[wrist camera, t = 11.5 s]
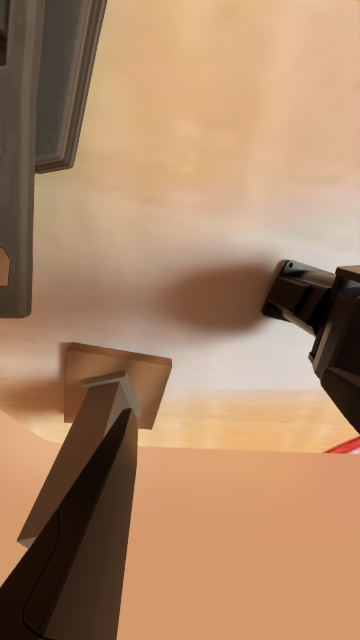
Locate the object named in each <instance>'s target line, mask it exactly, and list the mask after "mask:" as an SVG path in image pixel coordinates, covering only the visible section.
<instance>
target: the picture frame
mask: <svg viewBox="0 0 360 640" xmlns="http://www.w3.org/2000/svg"><path fill="white" fill-rule="evenodd" d="M82 387H83V388H84V390H85V392H86V394H87V395H86V397H85V399H84V401H83V403H82V405H81V407H80V409H79V412H78V414H77V416H76V418H75V420H74V422H73V424H72V426H71V428H70V430H69V432H68V435H67V437H66V439H65V441H64V443H63V445H62V447H61V449H60V451H59V453H58V455H57V458H56V460H55V462H54V464H53V466H52V468H51V470H50V472H49V474H48V476H47V478H46V480H45V483H44V485H43V487H42V489H41V491H40V493H39V495H38V497H37V499H36V502H35V503H34V506H33V508H32V510H31V512H30V514H29V516H28V518H27V520H26V522H25V524H24V526H23V528H22V531H21V533H20V535H19V537H18V539H17V542H18V543H21V544H22V545H23V546H25V547H27V548H28V549H29V548H30V546H31V545H32V543H33V542H34V540H35V539H36V537H37V536H38V535H39V533H40V532H41V530H42V529H43V527H44V526H45V524H46V523H47V521H48V520H49V518H50V517H51V515H52V514H53V513H54V511H55V510H56V508H58V506H59V504H60V502H61V501H62V499H63V498H64V496H65V495H66V493H67V492H68V490H69V489H70V487H71V486H72V484H73V483H74V481H75V480H76V478H77V477H78V475H79V474H80V472H81V471H82V469H83V468H84V466H85V465H86V463H87V462H88V460H89V459H90V457H91V456H92V454H93V453H94V451H95V450H96V449H97V447H98V446H99V444H100V443H101V441H102V440H103V438H104V437H105V435H106V434H107V432H108V431H109V429H110V428H111V426H112V425H113V423H114V422H115V420H116V419H117V417H118V416H119V414H120V413H121V411H122V410H123V409H126V408H133V410H134V412H135V415H136V417H140V416H141V407H140V404H139V402H138V399H137V397H136V394H135V392H134V389H133V387H132V384H131V382H130V379H129V377H128V374H127V372H126V371H124V372H119V373H114V374H109V375H104V376H99V377H94V378H89V379H85V381H84V383H83V385H82Z"/></svg>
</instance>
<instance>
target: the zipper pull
mask: <svg viewBox="0 0 360 640" xmlns="http://www.w3.org/2000/svg"><path fill="white" fill-rule="evenodd" d="M106 4H107V0H0V248H3V249H4V251H5V253H6V255H7V256H8V258H9V260H10V265H9V277H8V285H7V286H0V318H24V317H27V316H29V315H30V314H31V302H32V272H33V253H32V251H33V213H34V176H35V172H37V173H47V172H52V171H58V170H63V169H68V168H72V167H73V165H74V161H75V157H76V152H77V147H78V142H79V136H80V131H81V126H82V121H83V116H84V111H85V106H86V101H87V96H88V91H89V86H90V81H91V76H92V71H93V66H94V61H95V55H96V50H97V45H98V41H99V36H100V31H101V27H102V22H103V18H104V13H105V8H106Z"/></svg>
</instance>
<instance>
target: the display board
mask: <svg viewBox="0 0 360 640" xmlns="http://www.w3.org/2000/svg"><path fill="white" fill-rule="evenodd" d="M171 368H172V360H171V359H169V358H163V357H157V356H151V355H145V354H139V353H133V352H127V351H121V350H115V349H109V348H103V347H97V346H91V345H85V344H79V343H73V342H72V343H71V345H70V346H69V347H68V348H67V349H66V370H65V408H64V422H65V423H73V422H74V420H75V418H76V416H77V414H78V412H79V409H80V407H81V405H82V403H83V401H84V399H85V397H86V395H87V394H86V392H85V390H84V388H83V387H82V385H83V383H84V381H85V379H89V378H94V377H99V376H104V375H109V374H114V373H119V372H124V371H126V372H127V374H128V377H129V379H130V382H131V384H132V387H133V389H134V392H135V394H136V397H137V399H138V402H139V404H140V407H141V416H140V417H137V420H138V429H150V430H152V428H153V424H154V421H155V418H156V415H157V412H158V409H159V406H160V403H161V400H162V396H163V393H164V390H165V387H166V384H167V381H168V378H169V375H170V371H171Z"/></svg>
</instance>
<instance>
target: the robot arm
mask: <svg viewBox="0 0 360 640" xmlns="http://www.w3.org/2000/svg"><path fill="white" fill-rule="evenodd" d="M290 263H291V265H290V267H289V264H290ZM335 274H336V275H335ZM335 274H333V273H330V272H327V271H324V270H321V269H317V268H314V267H311V266H308V265H305V264H302V263H299V262H296V261H293V260H288V261H286V262H285V264H284V266H283V268H282V270H281V272H280V274H279V276H278V278H277V279H276V281H275V283H274V285H273V287H272V289H271V291H270V293H269V295H268V297H267V300H266V302H265V304H264V306H263V308H262V311H261V313H262V314H263V315H265V316H268V317H272V318H276V319H280V320H284V321H288V322H292V323H294V324H296V325H297V326H299V327H300V328H302V329H303V330H305V331H307V332H308V333H310V334H311V335H313V336H314V337H316V338H315V342H314V345H313V348H312V351H311V352H310V353H309V356H308V358H309V360H310V361H311V363H312V364H313V365H312V366H313V369H314V373H315V374H316V375H317V377H318V378H319V379H320V383H321V386H322V387H323V389H324V390H325V391H326V393H327V394H328V395H329V397H330V398H331V399H332V401H333V402H334V403H335V405H336V406H337V407H338V409H339V410H340V412H341V413H342V414H343V415H344V417H345V418H346V419H347V420H348V422H349V423H350V424H351V425H352V426H353V427H354V429H355V430H356V431H357V432H358V433H359V434H360V265H356V266H342V267H337V269H336V272H335ZM266 310H267V312H266V313H265V311H266ZM137 441H138V420H137V417H136V415H135V412H134V410H133V408H126V409H123V410H122V411H121V413H120V414H119V416H118V417H117V419H116V420H115V422H114V423H113V425H112V426H111V428H110V429H109V431H108V432H107V434H106V435H105V437H104V438H103V440H102V441H101V443H100V444H99V446H98V447H97V449H96V450H95V451H94V453H93V454H92V456H91V457H90V459H89V460H88V462H87V463H86V465H85V466H84V468H83V469H82V471H81V472H80V474H79V475H78V477H77V478H76V480H75V481H74V483H73V484H72V486H71V487H70V489H69V490H68V492H67V493H66V495H65V496H64V498H63V499H62V501H61V502H60V504H59V506H58V508H56V510H55V511H54V513H53V514H52V515H51V517H50V518H49V520H48V521H47V523H46V524H45V526H44V527H43V529H42V530H41V532H40V533H39V535H38V536H37V537H36V539H35V540H34V542H33V543H32V545H31V546H30V548H29V549H28V550H27V552H26V553H25V554H24V556H23V557H22V558H21V560H20V562H19V563H18V564H17V566H16V567H15V568H14V569H13V571H12V572H11V574H10V575H9V576H8V578H7V579H6V580H5V582H4V583H3V584H2V586H1V587H0V640H116V639H117V630H118V622H119V613H120V604H121V596H122V587H123V578H124V570H125V562H126V553H127V544H128V535H129V527H130V518H131V510H132V501H133V493H134V485H135V476H136V467H137Z"/></svg>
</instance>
